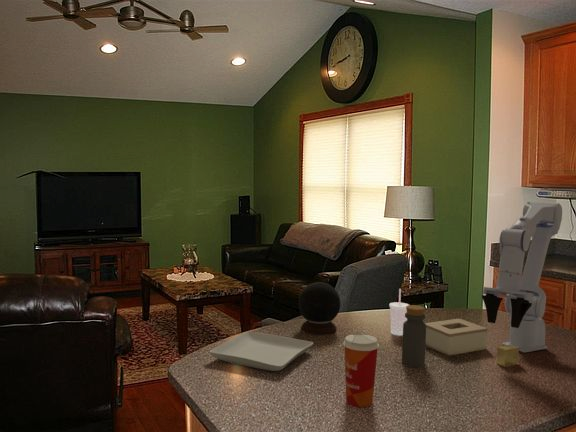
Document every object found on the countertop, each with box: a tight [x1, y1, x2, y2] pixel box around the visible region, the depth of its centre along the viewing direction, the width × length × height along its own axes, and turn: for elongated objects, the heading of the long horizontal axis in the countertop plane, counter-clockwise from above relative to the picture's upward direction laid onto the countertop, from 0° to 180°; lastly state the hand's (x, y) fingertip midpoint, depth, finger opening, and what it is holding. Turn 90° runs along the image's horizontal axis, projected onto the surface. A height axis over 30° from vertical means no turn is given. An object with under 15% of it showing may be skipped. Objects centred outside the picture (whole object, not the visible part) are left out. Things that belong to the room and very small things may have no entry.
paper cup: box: [342, 333, 380, 408], centre depth 115 cm, size 8×8×14 cm
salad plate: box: [208, 331, 314, 372], centre depth 142 cm, size 21×21×3 cm
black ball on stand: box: [298, 281, 341, 336], centre depth 168 cm, size 13×13×15 cm
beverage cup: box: [388, 288, 410, 336], centre depth 165 cm, size 6×6×14 cm
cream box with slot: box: [424, 318, 488, 356], centre depth 154 cm, size 14×11×6 cm
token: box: [496, 345, 520, 368], centre depth 140 cm, size 5×3×5 cm, turn 116°
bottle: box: [401, 304, 427, 368], centre depth 139 cm, size 6×6×15 cm
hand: (502, 325), depth 140 cm, fingers open, 7 cm apart
